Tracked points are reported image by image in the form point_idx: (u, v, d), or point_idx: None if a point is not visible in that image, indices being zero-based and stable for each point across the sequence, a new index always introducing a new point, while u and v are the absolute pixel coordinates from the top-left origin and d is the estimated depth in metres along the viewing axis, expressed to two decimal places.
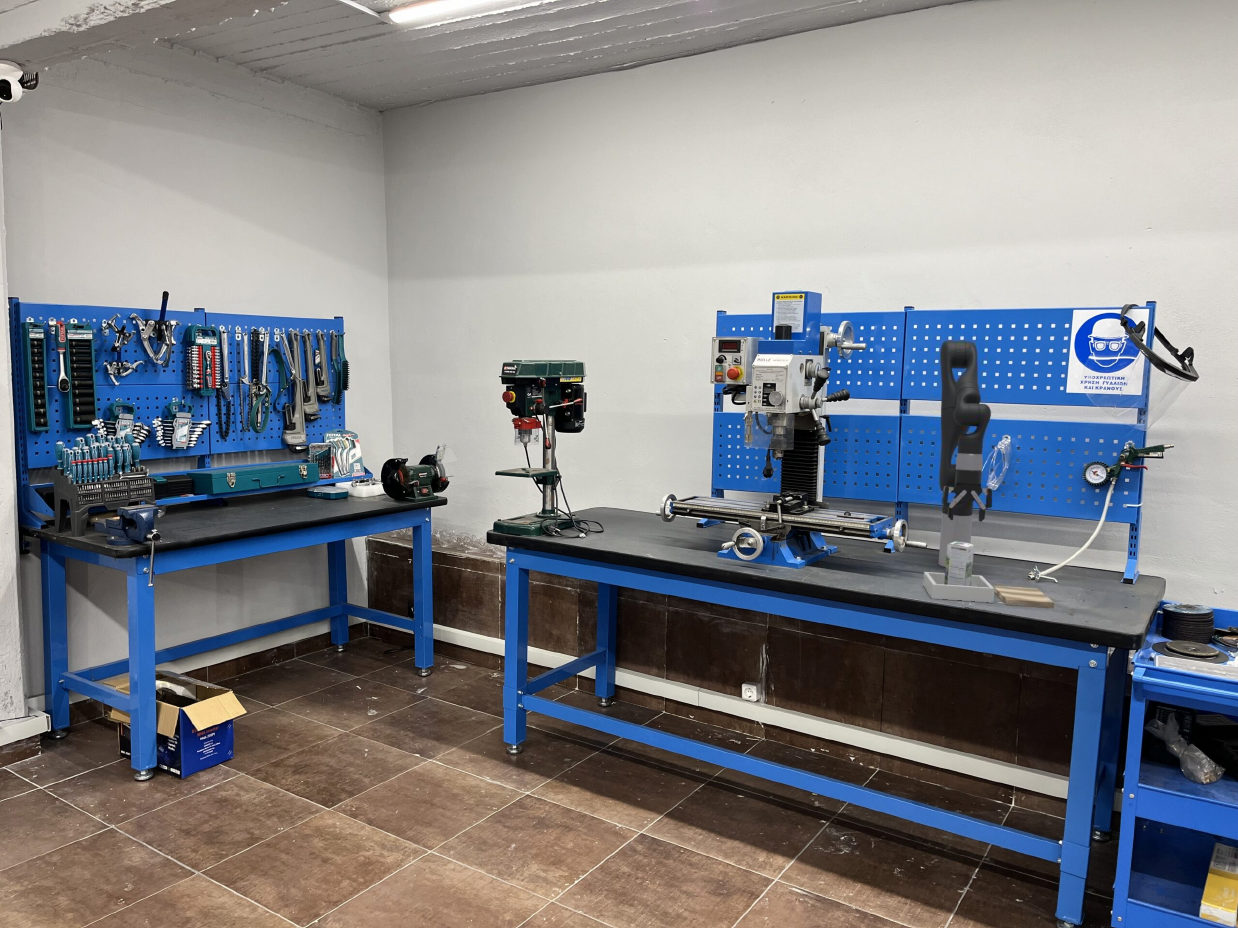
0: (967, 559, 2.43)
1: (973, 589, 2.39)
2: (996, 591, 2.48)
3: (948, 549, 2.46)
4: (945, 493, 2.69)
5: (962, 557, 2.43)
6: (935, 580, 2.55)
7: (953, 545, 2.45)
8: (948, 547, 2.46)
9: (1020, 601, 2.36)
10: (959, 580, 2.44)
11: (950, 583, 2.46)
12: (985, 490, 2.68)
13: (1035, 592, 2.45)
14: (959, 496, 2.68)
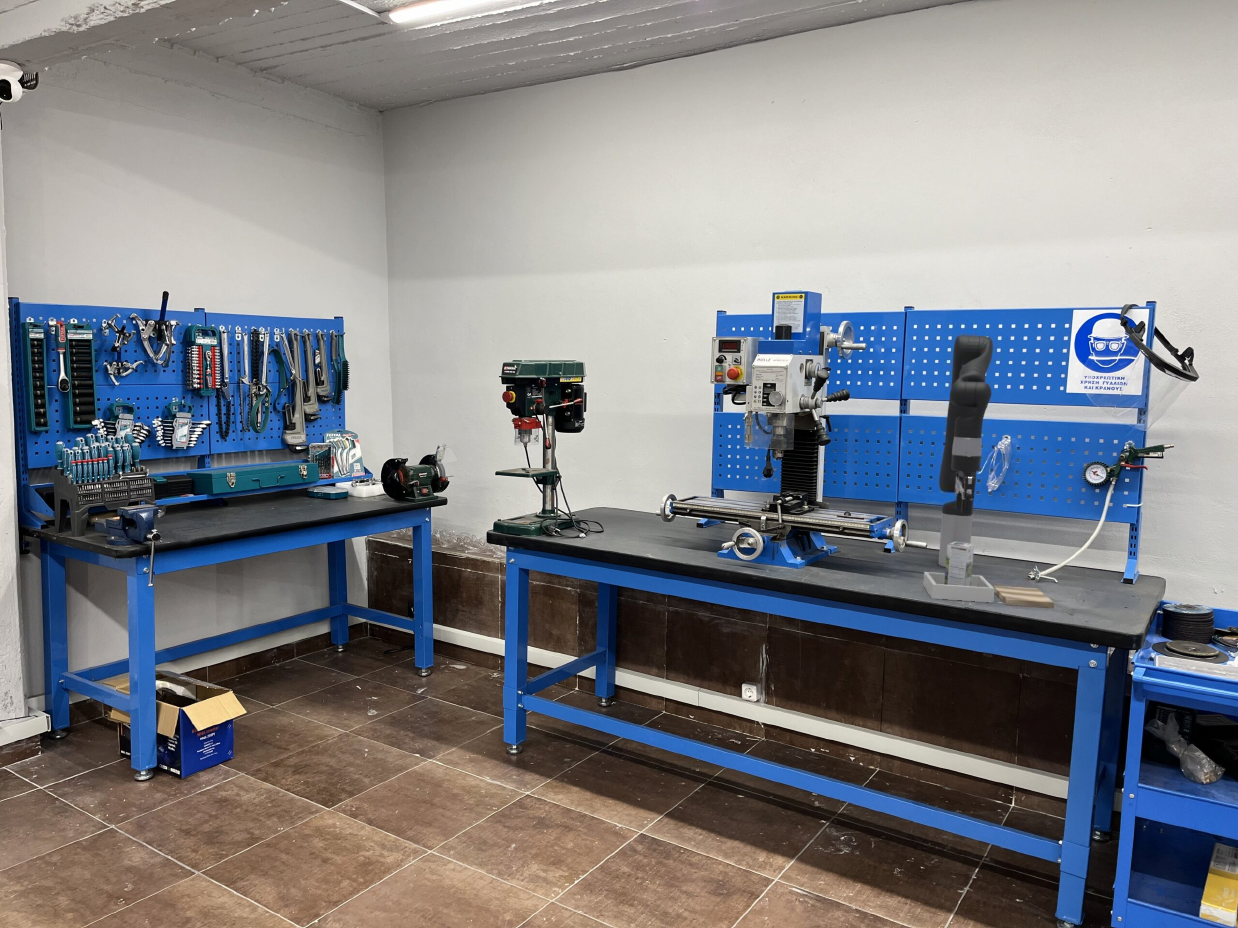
0: (967, 559, 2.43)
1: (973, 589, 2.39)
2: (996, 591, 2.48)
3: (948, 549, 2.46)
4: (974, 485, 2.38)
5: (962, 557, 2.43)
6: (935, 580, 2.55)
7: (953, 545, 2.45)
8: (948, 547, 2.46)
9: (1020, 601, 2.36)
10: (959, 580, 2.44)
11: (950, 583, 2.46)
12: None
13: (1035, 592, 2.45)
14: None
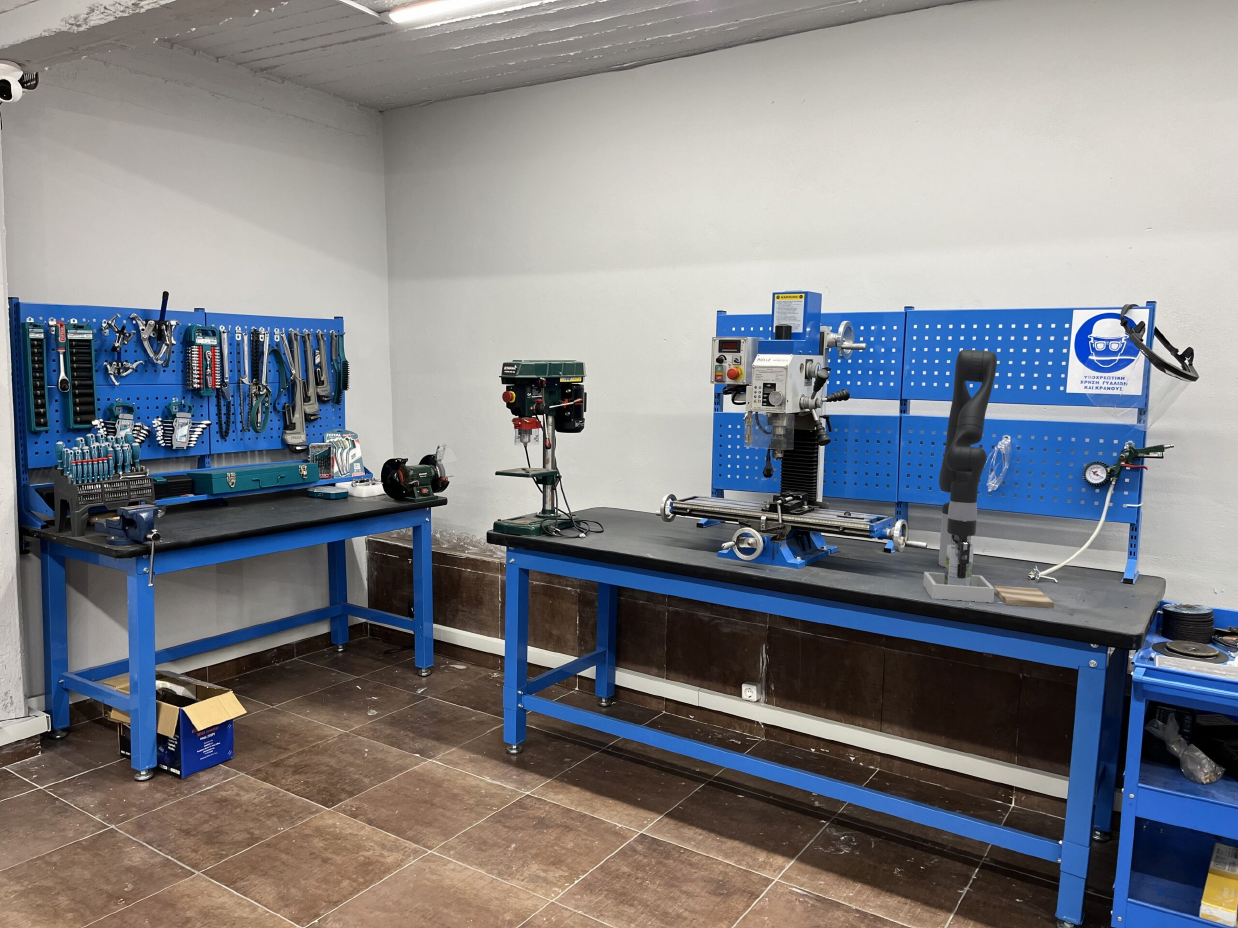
0: None
1: (973, 589, 2.39)
2: (996, 591, 2.48)
3: (948, 549, 2.46)
4: None
5: (962, 557, 2.43)
6: (935, 580, 2.55)
7: (953, 545, 2.45)
8: (948, 547, 2.46)
9: (1020, 601, 2.36)
10: (959, 580, 2.44)
11: (950, 583, 2.46)
12: None
13: (1035, 592, 2.45)
14: None
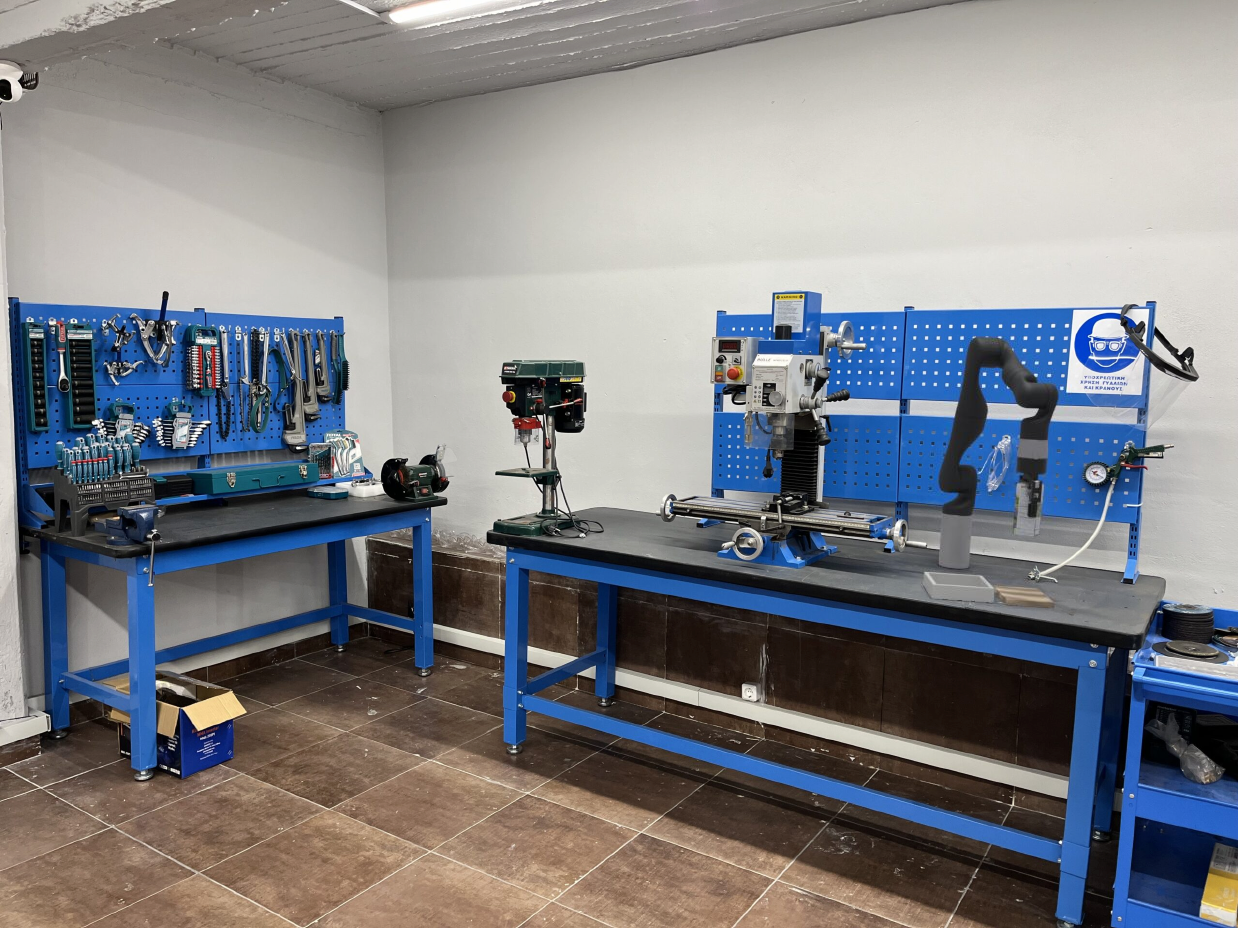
0: None
1: (973, 589, 2.39)
2: (996, 591, 2.48)
3: (1018, 488, 2.40)
4: None
5: (1033, 496, 2.37)
6: (935, 580, 2.55)
7: (1023, 484, 2.39)
8: (1018, 486, 2.40)
9: (1020, 601, 2.36)
10: (1029, 519, 2.38)
11: (1019, 523, 2.40)
12: None
13: (1035, 592, 2.45)
14: None
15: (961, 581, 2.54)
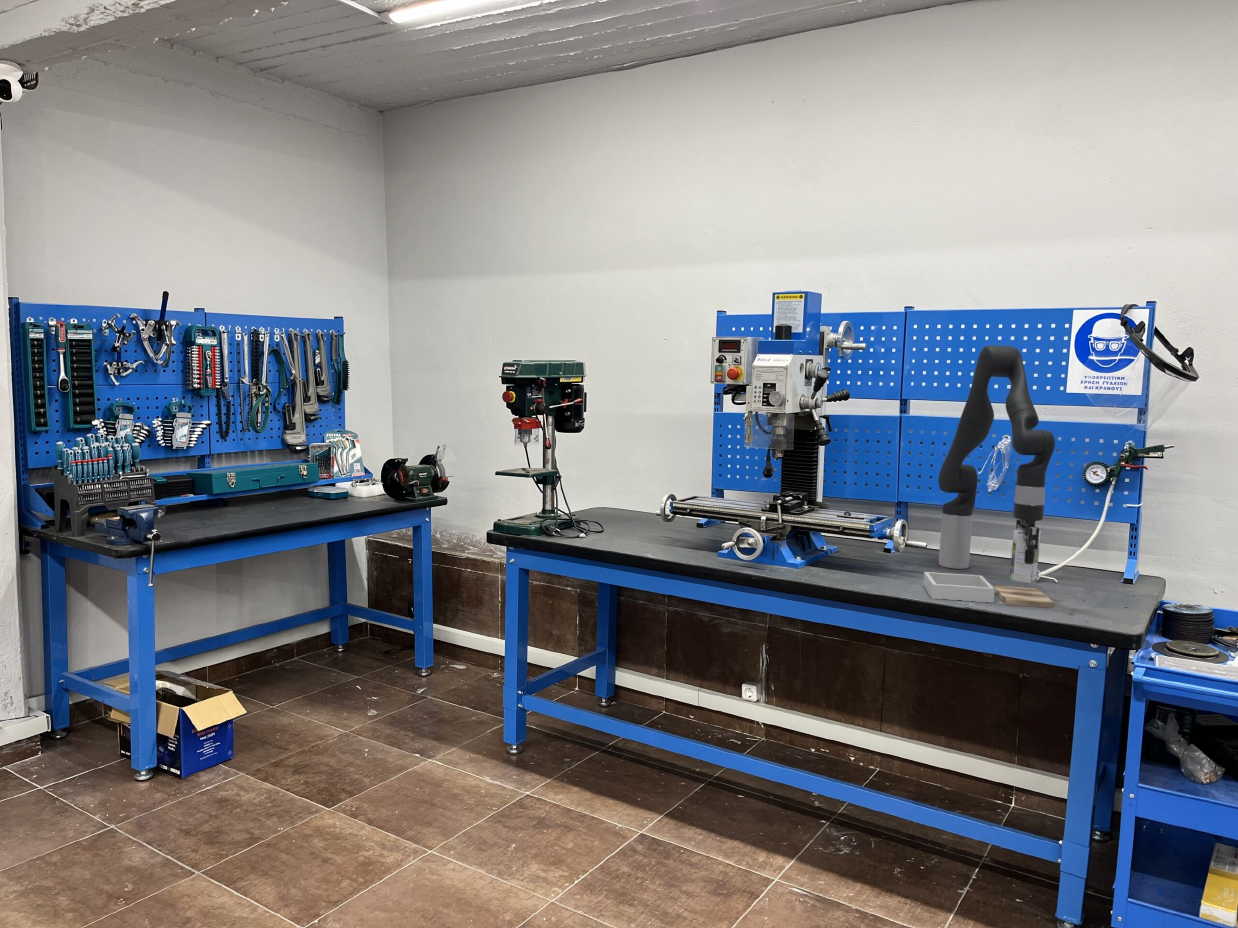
0: None
1: (973, 589, 2.39)
2: (996, 591, 2.48)
3: (1015, 534, 2.41)
4: None
5: (1030, 542, 2.39)
6: (935, 580, 2.55)
7: (1020, 530, 2.40)
8: (1015, 532, 2.41)
9: (1020, 601, 2.36)
10: (1026, 565, 2.40)
11: (1017, 569, 2.41)
12: None
13: (1035, 592, 2.45)
14: None
15: (961, 581, 2.54)
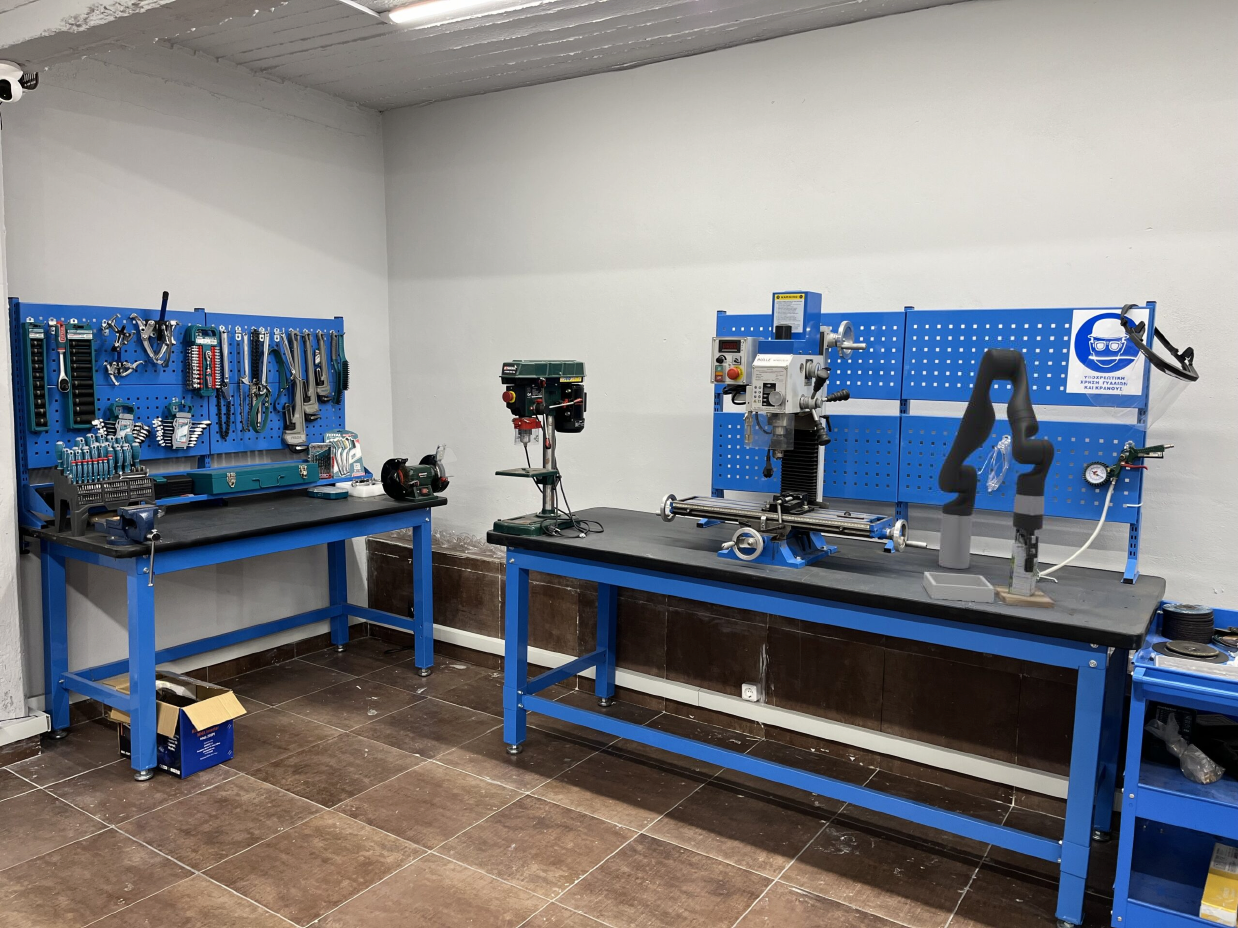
0: None
1: (973, 589, 2.39)
2: (996, 591, 2.48)
3: (1013, 548, 2.41)
4: None
5: None
6: (935, 580, 2.55)
7: (1019, 544, 2.41)
8: (1013, 546, 2.41)
9: (1020, 601, 2.36)
10: (1025, 579, 2.40)
11: (1015, 583, 2.42)
12: None
13: (1035, 592, 2.45)
14: None
15: (961, 581, 2.54)
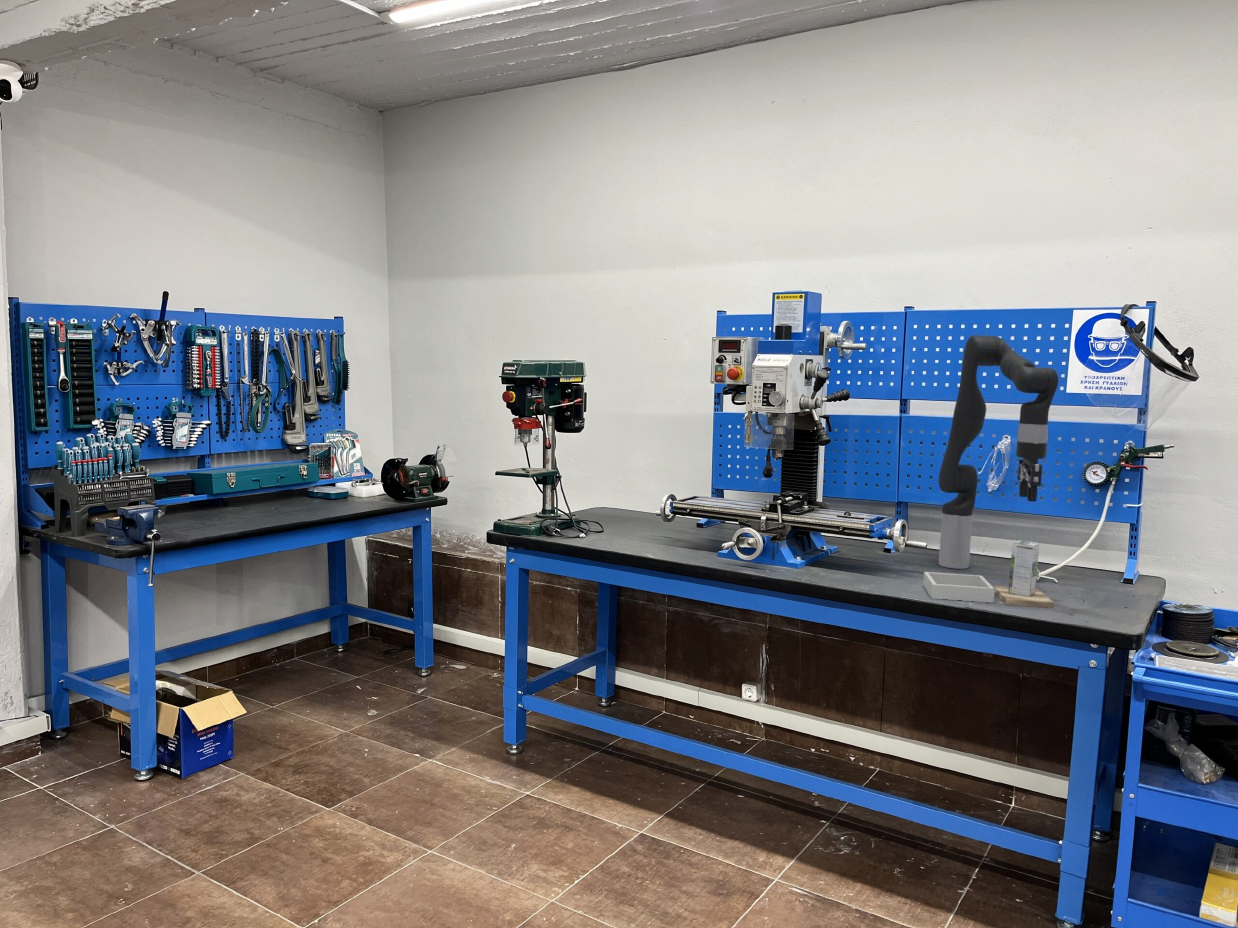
0: (1033, 559, 2.39)
1: (973, 589, 2.39)
2: (996, 591, 2.48)
3: (1013, 548, 2.41)
4: None
5: (1029, 556, 2.39)
6: (935, 580, 2.55)
7: (1019, 544, 2.41)
8: (1013, 546, 2.41)
9: (1020, 601, 2.36)
10: (1025, 579, 2.40)
11: (1015, 583, 2.42)
12: None
13: (1035, 592, 2.45)
14: None
15: (961, 581, 2.54)
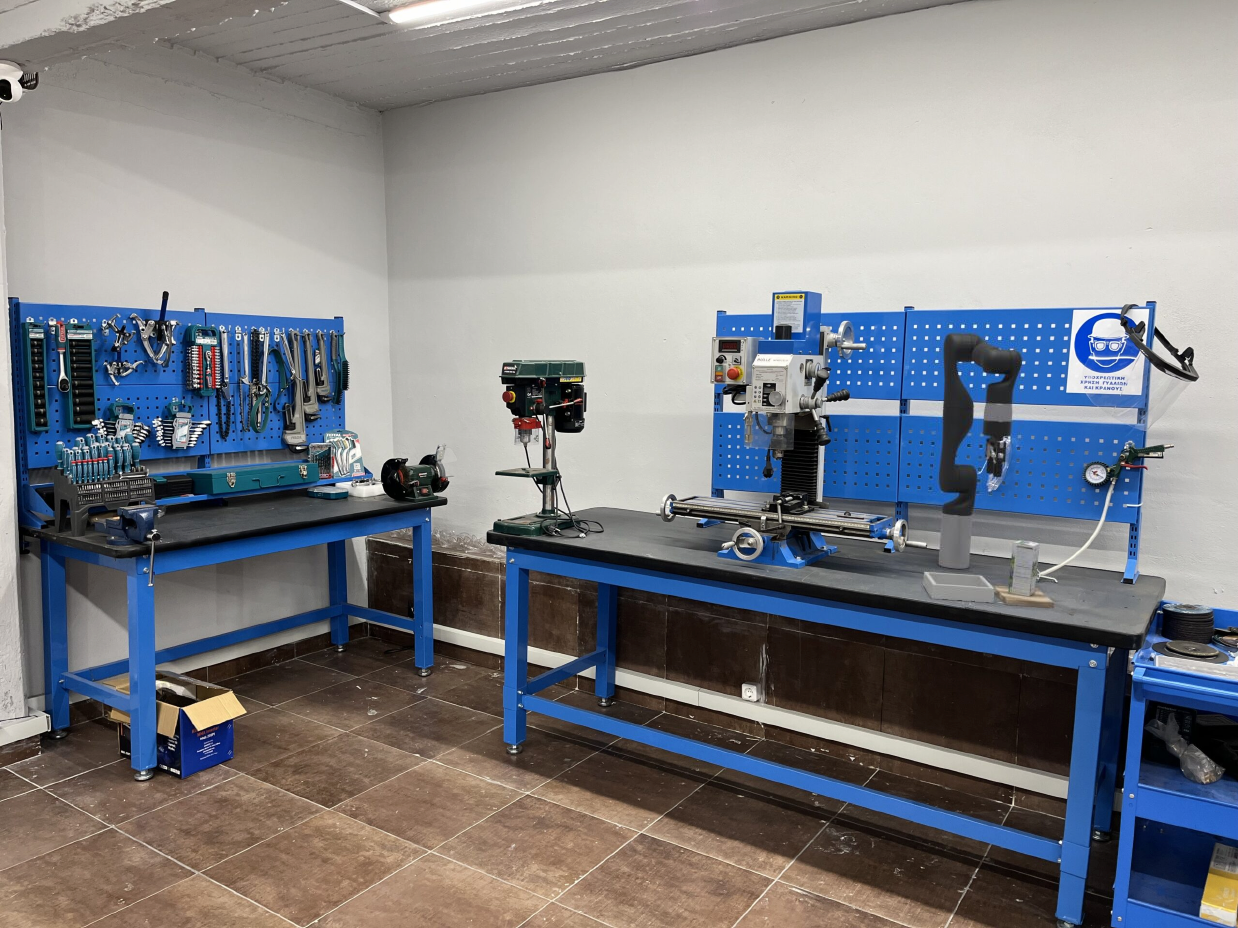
0: (1033, 559, 2.39)
1: (973, 589, 2.39)
2: (996, 591, 2.48)
3: (1013, 548, 2.41)
4: None
5: (1029, 556, 2.39)
6: (935, 580, 2.55)
7: (1019, 544, 2.41)
8: (1013, 546, 2.41)
9: (1020, 601, 2.36)
10: (1025, 579, 2.40)
11: (1015, 582, 2.42)
12: None
13: (1035, 592, 2.45)
14: None
15: (961, 581, 2.54)
